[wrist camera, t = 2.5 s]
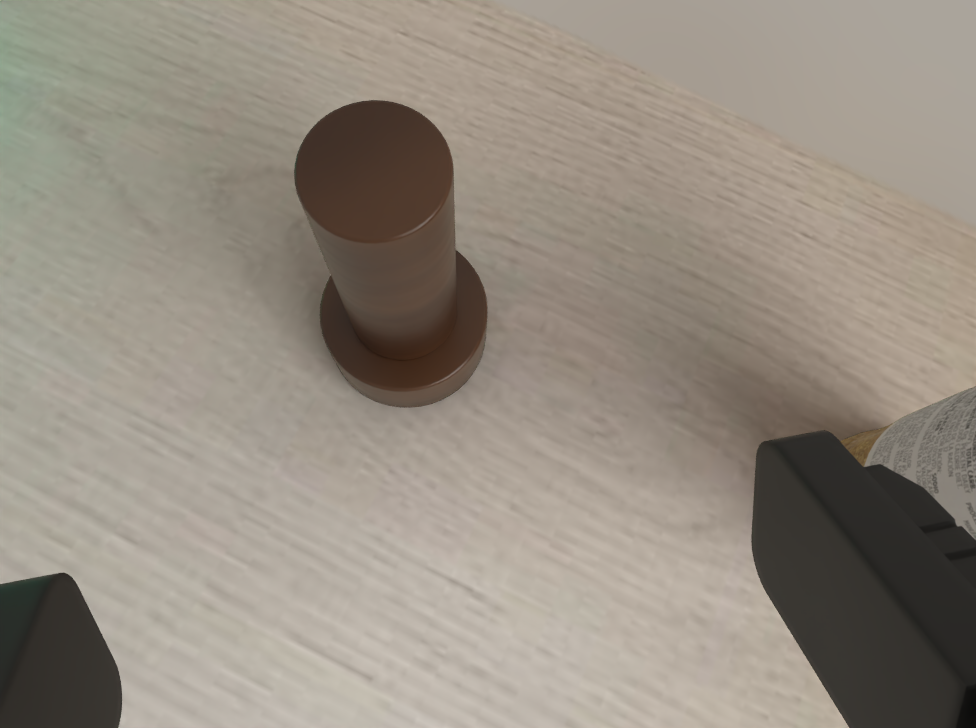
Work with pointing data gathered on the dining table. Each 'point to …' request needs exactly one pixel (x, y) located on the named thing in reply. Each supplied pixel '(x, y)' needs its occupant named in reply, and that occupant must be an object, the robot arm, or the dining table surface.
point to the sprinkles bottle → (931, 453)
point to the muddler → (391, 254)
